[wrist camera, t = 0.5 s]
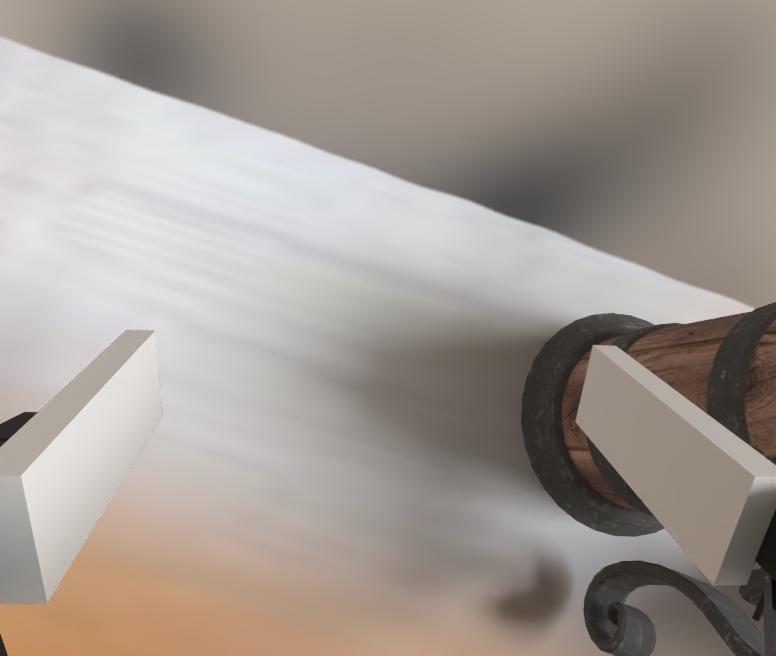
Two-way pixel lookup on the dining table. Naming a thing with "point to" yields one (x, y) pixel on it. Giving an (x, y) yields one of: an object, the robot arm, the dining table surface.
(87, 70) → the dining table surface
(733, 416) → the tankard
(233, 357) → the dining table surface
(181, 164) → the dining table surface
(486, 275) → the dining table surface
